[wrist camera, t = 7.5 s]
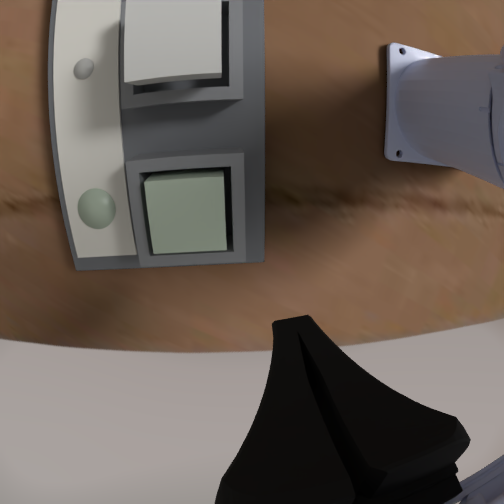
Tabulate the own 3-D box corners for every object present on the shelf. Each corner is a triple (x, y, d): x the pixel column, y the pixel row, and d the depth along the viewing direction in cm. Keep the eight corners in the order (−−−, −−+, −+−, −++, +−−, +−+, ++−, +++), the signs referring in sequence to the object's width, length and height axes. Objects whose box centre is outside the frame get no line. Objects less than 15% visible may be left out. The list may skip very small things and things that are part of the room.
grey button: (221, 4, 10) (221, -12, 8) (221, 78, 12) (221, 72, 10) (138, 12, 10) (126, -1, 8) (137, 85, 11) (124, 82, 9)
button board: (257, -90, 10) (266, -123, 6) (260, 247, 20) (269, 281, 17) (78, -65, 9) (55, -89, 5) (86, 256, 19) (63, 289, 16)
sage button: (223, 168, 15) (223, 176, 13) (225, 233, 17) (226, 250, 15) (153, 172, 15) (144, 181, 13) (160, 237, 17) (153, 253, 15)
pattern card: (132, -86, 8) (131, -89, 8) (137, 253, 18) (136, 255, 17) (72, -69, 7) (70, -71, 7) (79, 256, 17) (77, 258, 17)
